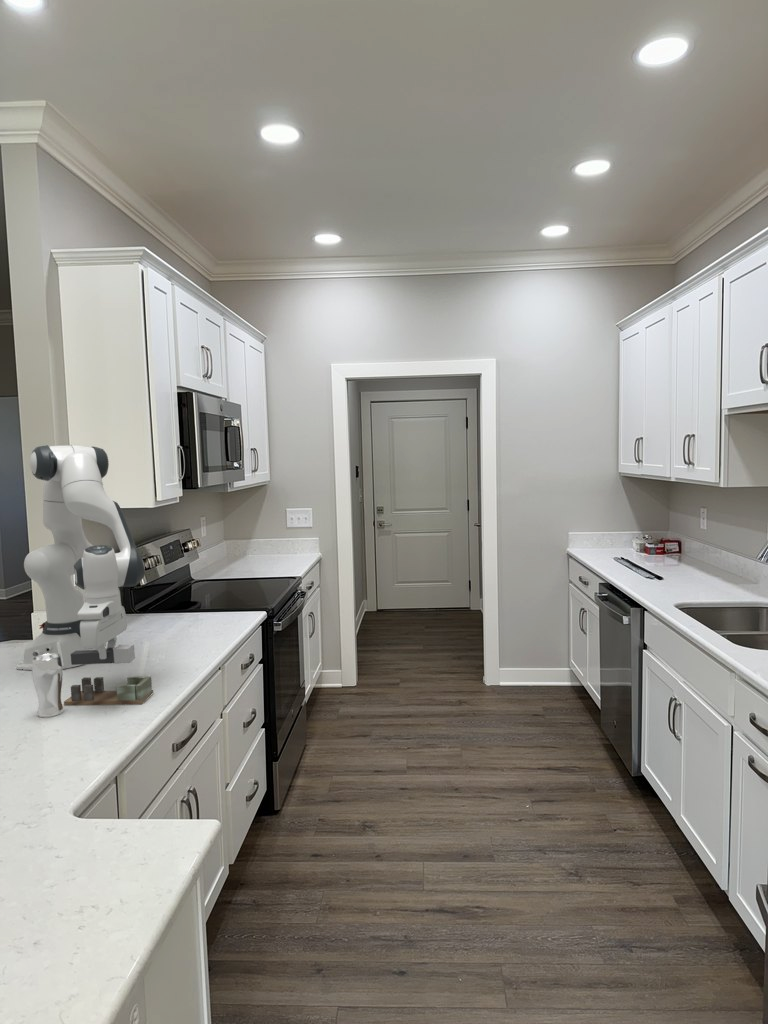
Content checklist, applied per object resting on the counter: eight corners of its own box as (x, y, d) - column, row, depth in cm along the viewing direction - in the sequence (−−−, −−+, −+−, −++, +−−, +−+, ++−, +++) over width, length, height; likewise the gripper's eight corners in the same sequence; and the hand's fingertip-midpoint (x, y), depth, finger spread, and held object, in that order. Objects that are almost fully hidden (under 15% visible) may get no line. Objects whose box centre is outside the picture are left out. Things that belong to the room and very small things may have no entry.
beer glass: (45, 720, 172) (41, 662, 171) (30, 715, 176) (25, 658, 174) (71, 710, 178) (67, 654, 177) (55, 706, 182) (51, 651, 180)
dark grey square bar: (70, 665, 183) (69, 650, 183) (77, 660, 187) (76, 646, 187) (129, 663, 182) (127, 648, 182) (135, 658, 186) (133, 644, 186)
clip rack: (64, 705, 182) (62, 687, 182) (78, 694, 190) (77, 677, 189) (141, 704, 181) (140, 686, 181) (153, 693, 189) (152, 676, 189)
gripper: (108, 598, 194) (112, 645, 195) (73, 615, 173) (78, 668, 174) (130, 597, 193) (134, 644, 195) (98, 614, 173) (102, 667, 174)
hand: (107, 656), depth 184 cm, fingers closed on dark grey square bar, 3 cm apart
